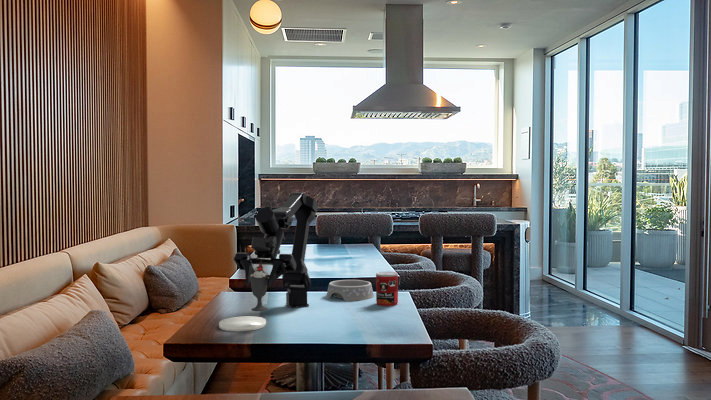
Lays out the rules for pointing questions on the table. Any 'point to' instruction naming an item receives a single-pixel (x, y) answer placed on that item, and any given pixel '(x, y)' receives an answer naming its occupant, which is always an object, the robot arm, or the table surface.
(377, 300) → the canned food
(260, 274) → the sundae
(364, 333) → the table surface
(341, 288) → the dog bowl
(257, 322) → the saucer
